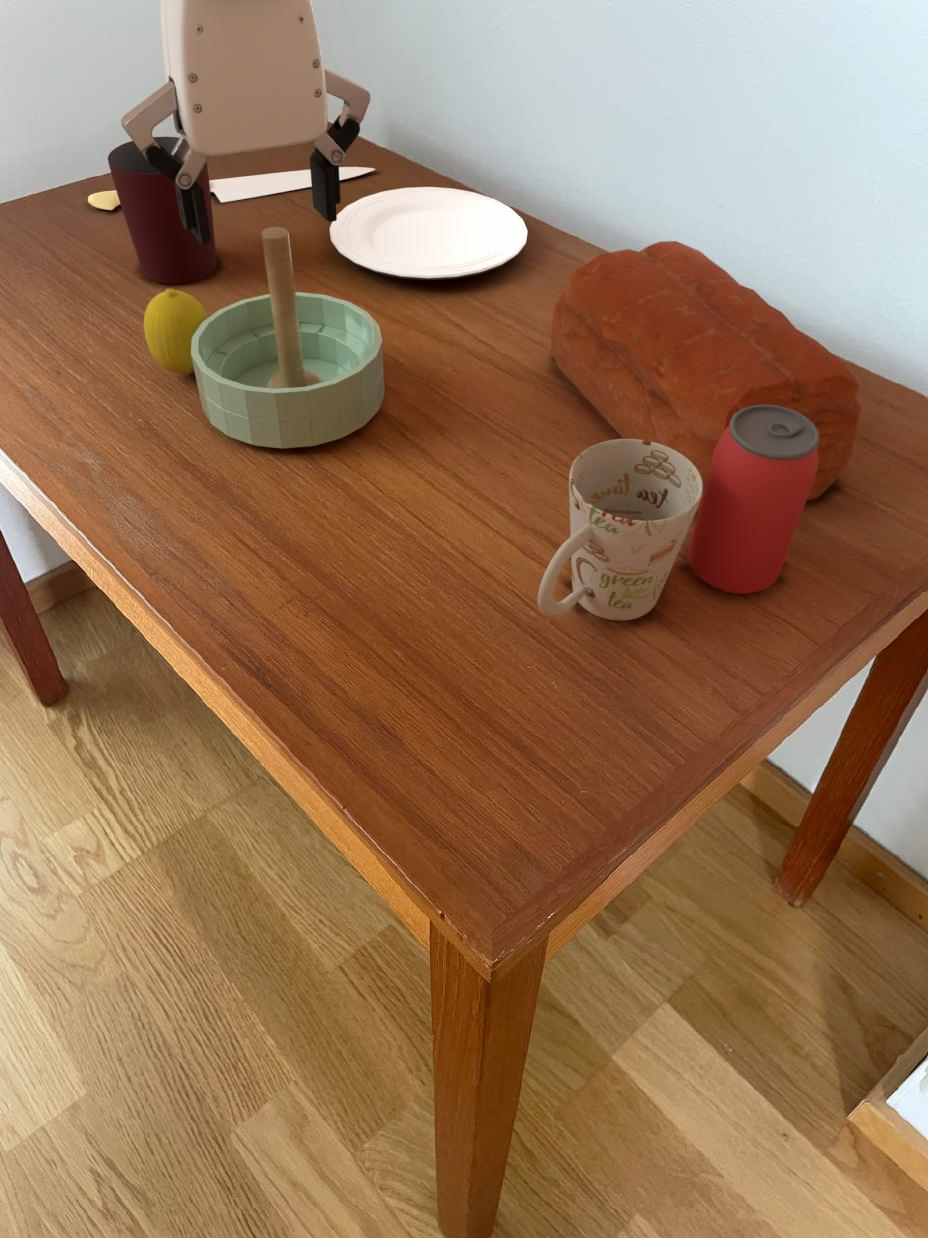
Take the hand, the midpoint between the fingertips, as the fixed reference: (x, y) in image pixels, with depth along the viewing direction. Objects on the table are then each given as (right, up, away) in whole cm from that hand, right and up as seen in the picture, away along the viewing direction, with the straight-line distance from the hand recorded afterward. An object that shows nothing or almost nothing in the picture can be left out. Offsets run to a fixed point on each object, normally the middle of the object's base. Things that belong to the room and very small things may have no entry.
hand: (264, 225), depth 72 cm
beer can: (+34, -26, -2) cm, 43 cm away
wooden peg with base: (0, -10, +10) cm, 14 cm away
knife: (-11, +20, +39) cm, 45 cm away
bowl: (0, -11, +11) cm, 15 cm away
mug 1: (-15, +7, +28) cm, 32 cm away
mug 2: (+24, -29, -5) cm, 38 cm away
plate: (+11, +10, +31) cm, 35 cm away
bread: (+34, -12, +11) cm, 37 cm away
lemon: (-10, -8, +13) cm, 18 cm away
